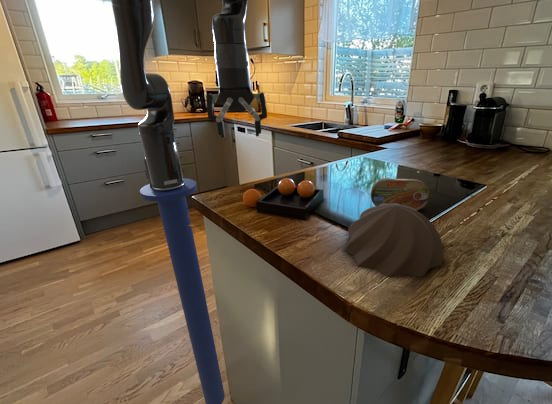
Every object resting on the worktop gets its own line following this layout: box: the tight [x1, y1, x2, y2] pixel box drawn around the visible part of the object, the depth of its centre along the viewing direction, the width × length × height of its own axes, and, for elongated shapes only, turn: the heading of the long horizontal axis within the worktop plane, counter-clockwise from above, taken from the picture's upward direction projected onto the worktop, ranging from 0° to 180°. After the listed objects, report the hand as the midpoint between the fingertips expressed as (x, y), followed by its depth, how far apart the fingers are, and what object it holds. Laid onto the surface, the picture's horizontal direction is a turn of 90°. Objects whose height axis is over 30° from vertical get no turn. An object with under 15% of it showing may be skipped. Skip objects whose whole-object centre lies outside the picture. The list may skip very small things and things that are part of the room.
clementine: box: [242, 188, 262, 208], centre depth 82 cm, size 5×5×5 cm
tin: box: [370, 177, 431, 212], centre depth 79 cm, size 15×3×8 cm, turn 82°
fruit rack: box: [255, 177, 324, 221], centre depth 82 cm, size 14×14×6 cm
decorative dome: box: [344, 203, 444, 278], centre depth 60 cm, size 19×20×10 cm
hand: (240, 136), depth 76 cm, fingers open, 8 cm apart
